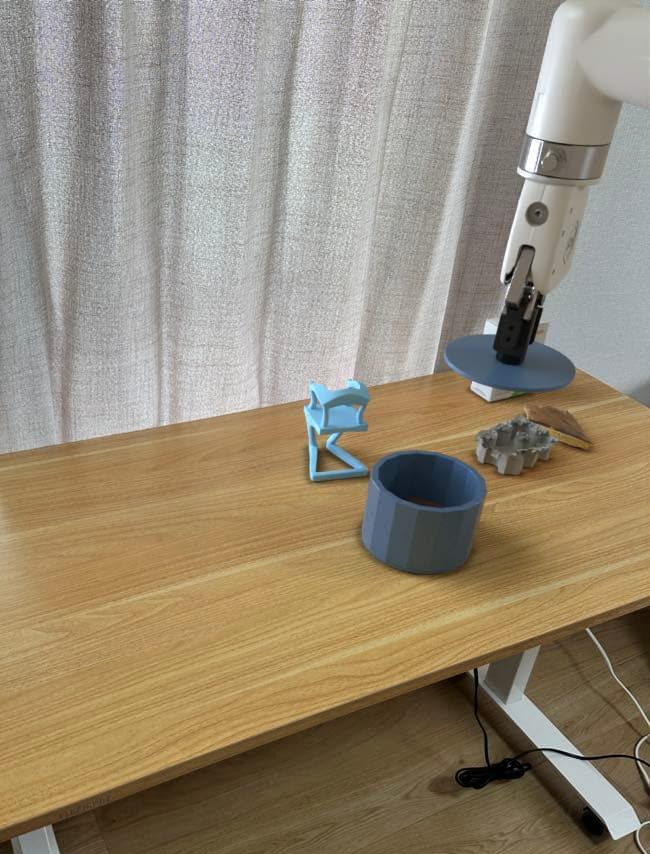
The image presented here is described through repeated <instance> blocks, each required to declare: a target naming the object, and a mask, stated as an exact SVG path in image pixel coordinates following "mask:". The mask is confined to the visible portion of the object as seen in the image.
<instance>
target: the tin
mask: <svg viewBox="0 0 650 854" xmlns="http://www.w3.org/2000/svg"><path fill="white" fill-rule="evenodd" d="M370 470H371V471H370V476H369V482H368V487H367V495H366V501H365V507H364V512H363V519H362V527H361V539H362V543H363V545H364V546H365V548H366V550H367V551H368V552H369V553H370V554H371V555H372V556H373V557H374V558H375V559H377V560H378V561H380V562H381V563H383V564H385V565H387V566H388V567H391V568H392V569H393V568H394V569H396V570H399V571H403V572H407V573H411V574H418V575H437V574H439V575H440V574H444V573H448V572H451V571H454V570H456V569H457V568H460V567H461V566H462V565H463V564H464V563H465V562H466V561H467V560H468V559H469V556H470V553H471V552H472V550H473V546H474V543H475V539H476V535H477V531H478V529H479V524H480V520H481V517H482V513H483V509H484V506H485V503H486V499H487V494H488V488H487V483H486V479H485V478H484V477H483V476H482V475H481V473H480V472H479V471H478V470H477V469H476V468H475V467H473V466H472V465H470V464H469V463H467V462H465V461H464V460H461V459H459V458H458V457H456V456H451V455H448V454H445V453H442V452H438V451H430V450H420V449H410V450H400V451H399V450H398V451H394V452H391V453H389V454H385V455H384V456H381V457H379V459H378V460H377V461H376V462H375V463H374V464H373V465H372V466H371V469H370ZM412 496H416V497H419V498H422V499H425V500H427V501H430V502H433V503H436V504H439V505H442V506H445V508H435V507H426V506H419V505H416V504H414V503H411V502H408V500H409V499H410V498H411V497H412Z"/></svg>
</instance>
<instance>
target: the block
mask: <svg viewBox="0 0 650 854" xmlns="http://www.w3.org/2000/svg"><path fill="white" fill-rule="evenodd" d="M408 502H411V503H414V504H416V505H419V506H426V507H435V508H445V506H442V505H439V504H436V503H433V502H430V501H427V500H425V499H422V498H419V497H416V496H412V497H411V498H410V499H409V500H408Z"/></svg>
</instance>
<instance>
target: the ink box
mask: <svg viewBox="0 0 650 854" xmlns="http://www.w3.org/2000/svg"><path fill="white" fill-rule="evenodd" d="M499 320H500V316H498V317H491V318H486V320H485V324H484V328H483V332H482V334H496V332H497V328H498V324H499ZM549 326H550V322H548V321H547V320H544V319H542V318H541V319H540V323H539V326H538V330H537V333H536V337H535V342H538V343H541V344H544V345H545V341H546V337H547V334H548V330H549ZM470 390H471V391H472V392H473V393H474V394H477V395H478V396H480V397H481V398H483V399H484V400H485V401H487V402H489V403H491V402H495V401H499V400H504V399H508V398H513V397H517V396H521V395H526V394H527V393H523V392H513V391H506V390H501V389H496V388H492V387H488V386H485V385H482V384H479V383H476V382H474V381H471V385H470Z"/></svg>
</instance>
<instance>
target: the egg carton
mask: <svg viewBox="0 0 650 854" xmlns="http://www.w3.org/2000/svg"><path fill="white" fill-rule="evenodd" d="M558 440H559V439H558V437H555V438H553V437H551V436H550V435H549V431H548V430H543V429H542V428H541V427H540V426H538V425H536V424H535V423H534V422H532V423H531V422H529V421H528V420H527V417H525V416H524V415H523V414H518V415H516V416H515V417H513V418H511V419H510V420H509V421H507V420H506V421H504V423H503V422H499V423H498V424H497V425H494V426H491V427H490V428H487V429H480V431H478V433H477V434H476V437H475V440H474V442H475V444H477V448H476V450H475V454H476V456H477V461H478V462H479V463H481V464H483V465H484V464H491V465H493V466H495V467H497V468H498V469H497V473H500V474H501V475H512V476H518V475H520V474H521V472H522V470H523V467H524V468H532V467H534V466H535V464H536V461H538V460H542V461H547V460H549V458H550V454H551V453H550V452H551V450H552V449H553V447H554V446H555V447H556V446H557V444H558V443H557V442H559V441H558Z"/></svg>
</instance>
